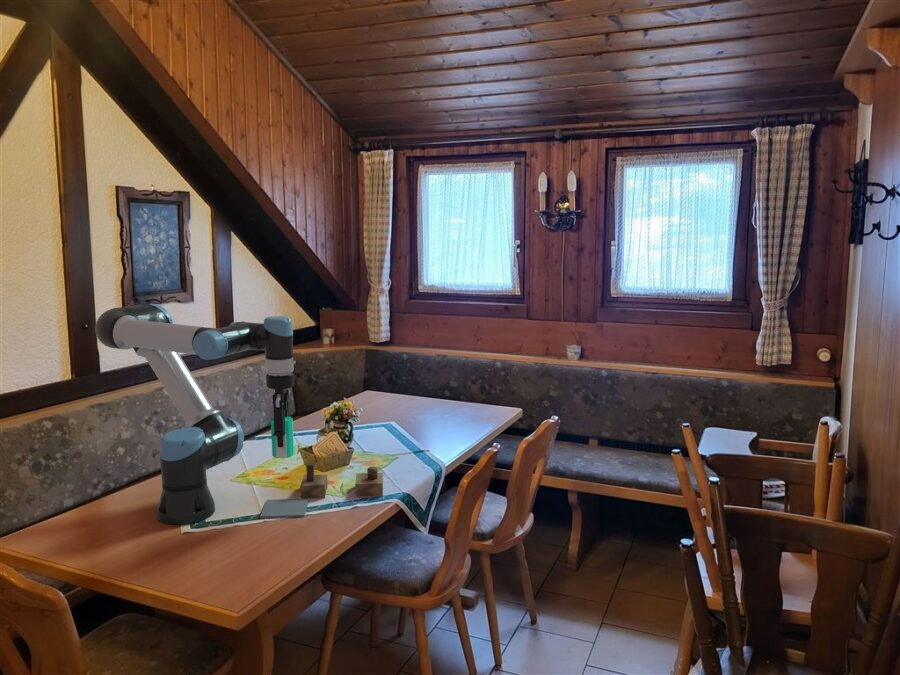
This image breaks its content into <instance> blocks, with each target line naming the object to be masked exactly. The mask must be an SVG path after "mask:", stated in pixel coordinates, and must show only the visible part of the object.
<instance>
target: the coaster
mask: <svg viewBox="0 0 900 675" xmlns="http://www.w3.org/2000/svg"><path fill="white" fill-rule="evenodd" d="M309 502H310V498H305V499H301V498H282V499H280V498H279V499H277V498H276V499H275V498H274V499H266V501H265V503H264V506H263V508H262V511H261V513H260V515H259V519H279V518H280V519H282V518H283V519H284V518H287V519H288V518H304V517H306V516H305V515H306V512H307V508H308V506H309Z"/></svg>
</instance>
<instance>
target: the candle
mask: <svg viewBox="0 0 900 675" xmlns="http://www.w3.org/2000/svg"><path fill="white" fill-rule="evenodd" d="M270 430H271V431H270V432H271V455H272V457H273V458H276V437H275V436H273V435H272V434H274V417H272V418H271V420H270ZM285 434H286V453H287V457H286V459H287V458H292V457H293V456H294V455H295V445H294V444H295V441H294V439H295V438H294V435H295V434H294V418H293V417H292V416H289V417H285ZM276 459H277V458H276Z"/></svg>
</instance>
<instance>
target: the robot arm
mask: <svg viewBox="0 0 900 675" xmlns="http://www.w3.org/2000/svg"><path fill="white" fill-rule="evenodd" d="M94 328H95V330H94V331H95V335H96V337H97V339H98V341H99V342H100V343H101V344H102V345H104V346H105V347H108V348H111V349H116V350H117V349H118V350H130V349H133V350H134V353H135V354H136V355H137V356H138V357H142V358H145V360H146V362H147V363H148V365H149V366H150V367H151V369H152V371H153V372H154V373H155V376H156V378H157V379H158V380H159V382H160V383H161V385H162V386H163V388H164V390H165V391H166V393H167V396H168V397H169V399H170V400H171V401H172V403H173V404H174V406H175V408H176V409H177V411H178V412H179V414H180V416H181V417H182V420H183V421H184V422H185V425H186V426H185V427H182V428H177V429H174V430H173V429H172V430H171V431H168V432H167V433H165V434H164V435H163V436H162V437H161V439H160V441H159V452H158V454H159V459H160V460H159V462H160V474H161V476H160V477H161V485H162V486H161V487H162V490H161V494H160V499H159V502H158V504H157V508H156V509H157V510H156V516H157V519H158V521H159V522H161V523H163V524H167V525H187V524H192V523H196V522H201V521H203V520H206V519H208V518H210V517H211V516H213V515H214V513H215V512H216V507H215V506H216V505H215V501H214V498H213V495H212V493H211V490H210V488H209V486H208V481H207V480H208V479H207V476H208V475H207V471H208V470H210V469H212V468H214V467H216V466H219V465H221V464H223V463H224V462H228V461H230V460H231V459H233V458H234V457H236V456H238V455H239V454H240V452H241V451H242V449H243V447H244V441H245V434H244V431H243V429H242V428H243V427H242V426H241V424H240V423H239V422H238V421H236V420H235V419H233V418H229V417H227V418H226V417H225V415H224V414H223V412H222V410H220V409H216V408H214V407H213V406H212V404H211V403H210V401H209V399H208V398H207V396H206V394H205V393H204V391H203V390H202V388H201V387H200V385H199V383H198V382H197V380H196V378H195V377H194V375H193V374H192V373H191V371H190V369H189V368H188V366H187V365H186V362H185V361H184V359H183V358H182V356H181V355H180V353H181V354H187V355H188V354H189V355H196V356H197V357H199V358H200V359H202V360H206V361H207V360H208V361H209V360H217V359H220V358H224V357H227V356H231V355H235V354H238V353H241V352H246V351H252V350H253V351H260V352H261V351H263V352H264V356H265V357H264V362H265V372H266V376H265V378H266V380H265V382H266V384H265V385H266V387H267V388H268V389H270V390H274V394H272V407H273V408H272V409H273V418H274V434H272V435H273V436H275V437H276V459H285V458H286V457H287V453H286V434H285V417H290V400H289V398H290V391H289V389H292V388H293V387H295V374H294V370H295V369H294V367H295V366H294V365H296V363H297V362H296V360H294V330H293V321H292V319H291V318H290V317H289V316H283V315H280V316H276V315H275V316H274V315H273V316H268V317H265V318H264V320H263V323H259V322H246V321H233V322H231V323H230V324H229V325H228V326H224V327H217V328H216V327H215V328H214V327H208V326H207V327H206V326H205V327H204V326H198V325H197V326H196V325H188V324H187V325H186V324H180V323H179V324H178V323H174V321H173V318H172V315H171V314H170V312H169V311H168V310H167V309H166V308H165V307H164V306H161V305H159V304H158V303H157V304H156V303H145V302H144V303H140V304H137V305H129V306H128V305H127V306H121V307H114V308H113V307H112V308H110V309H108V310H105V311H104V312H103V313H102V314H100V316H99V317H98V318H97V320H96V322H95V326H94ZM286 459H287V458H286Z"/></svg>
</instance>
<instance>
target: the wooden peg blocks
mask: <svg viewBox="0 0 900 675" xmlns="http://www.w3.org/2000/svg"><path fill="white" fill-rule="evenodd" d="M305 467H306V474H304V475H303V477H302V480H301V482H300V499H305V498H309V499H325V498H326V494H327V491H326V490H328V473H327V474H326V473H325V474H324V473H322V474H315V463H314V462H307V463H306V465H305ZM366 470H367V472H366V473H359V472H358V473H356V474H355V484H354V485H355V489H354V490H355V498H362V497H365V498H367V497H383V495H384V494H383V493H384V492H383V490H384V488H383V487H384V481H383V480H384V478H383V476H384V474H383V473H384V472H378V467H376V466H370V467H368V468H367V469H366Z"/></svg>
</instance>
